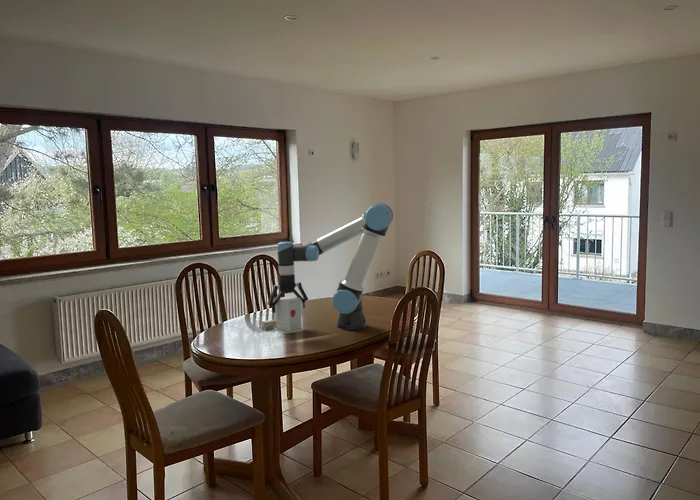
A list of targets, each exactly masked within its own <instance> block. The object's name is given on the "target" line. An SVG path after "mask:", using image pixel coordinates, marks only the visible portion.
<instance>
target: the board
mask: <svg viewBox="0 0 700 500" xmlns="http://www.w3.org/2000/svg"><path fill="white" fill-rule="evenodd" d="M266 321H267V320H266ZM271 330H274V328H273V321H267V322H264V329H263V331H271Z"/></svg>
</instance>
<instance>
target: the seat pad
mask: <svg viewBox="0 0 700 500" xmlns="http://www.w3.org/2000/svg"><path fill="white" fill-rule="evenodd" d="M273 330H275V331H276V332H278V333H280V334H282V335H284V334H291V333H298V332H303V331H305V329H304V328H302V327H301V328H298V329H295V330H292V331H285V330H280V329H276V328H273Z"/></svg>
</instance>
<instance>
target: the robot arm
mask: <svg viewBox="0 0 700 500" xmlns="http://www.w3.org/2000/svg"><path fill="white" fill-rule="evenodd" d="M393 219H394V213H393V210H392V209H391V207H390V206H389V205H387V204H385V203H374V204H372V205H371V206H369V207H368V208H367V210H366V211H365V212H363V213H362V215H361V216H360V217H359V218H356V219H355V220H353V221H351V222H348V223H346V224H345V225H343V226H341V227H339V228H337V229H335V230H333V231H331V232H329V233H327V234H325V235H323V236H321V237H319V238H318V239H315V240H314V241H312V242H309V243H308V244H306V245H294V243H293V241H280V242H278V243H277V263H278V266H277V267H278V274H279V275H278V283H279V284H277V285H276V284H273V286H272V291H271V294H270V297H269V299H268V301H267V305H269V306H271V313H272V314H273V320H278V318H277V306H276V304H277V302H278V301H279V299H280V298H282V296H283V295H285V294H293V295H294V296H295V297H298V298H301V317H304V316H305V315H304V312H305V311H304V309H305V307H306V301H308V300H309V297H308V296H307V294H306V292H305V290H304V288H303V285H302V282H300V281H298V282H296V276H295V275H296V274H295V272H296V271H295V262H317V261H318V260H319V256H321V255H322V254H324V253H327V252H328V251H330V250H332V249H335V248H336V247H338V246H341V245H343V244H344V243H347V242H349V241H351V240H352V239H355V238H357V237H358V236H360V239H359V242H358V245H357V248H356V249H355V252H354V254H353V258H352V260H351V262H350V265H349V266H348V267H349V268H348V270H347V273H346V275H345V278H343V279H342V280H340V282H338V285H337V286H338V287H337V289H336V292H335V293H334V294H333V296H332V305H333V307H334V309H335V310H336V311H337V312H338V316H337V319H336V325H335V326H336V328H338V329H339V330H344V331H356V330H362V329H363V330H364V328H365V329H366V327H367V319H366V316H365V315H364V312H363V311H364V309H363V291H364V288H363V284H364V281H365V278H366V275H367V273H368V271H369V269H370V267H371V263H372V260H373V258H374V256H375V253H376V250H377V247H378V245H379V243H380V241H381V239H383V238H384V237H386V234H387V232H388V230H389V227H390V224H392V221H393ZM296 287H297V288H298V291H299V292H298V291H297V290H296V289H295V288H296ZM278 290H279V291H278ZM277 293H278V294H277Z"/></svg>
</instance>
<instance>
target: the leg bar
mask: <svg viewBox="0 0 700 500" xmlns="http://www.w3.org/2000/svg"><path fill="white" fill-rule="evenodd" d="M267 321H273V329H274V328H276V320H275V319H270V320H261V329H263V330H264V322H267Z"/></svg>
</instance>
